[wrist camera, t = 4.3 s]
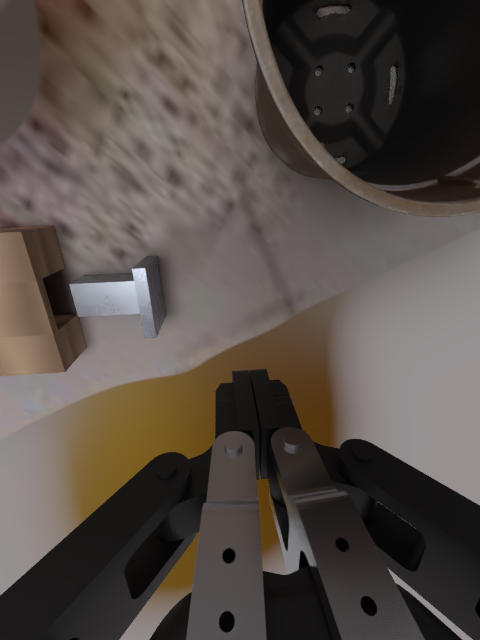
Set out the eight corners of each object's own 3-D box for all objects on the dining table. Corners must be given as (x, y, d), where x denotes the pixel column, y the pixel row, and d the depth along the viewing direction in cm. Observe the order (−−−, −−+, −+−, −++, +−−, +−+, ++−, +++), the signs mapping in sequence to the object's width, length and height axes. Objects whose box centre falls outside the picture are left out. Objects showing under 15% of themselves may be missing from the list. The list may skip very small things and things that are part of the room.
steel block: (157, 255, 27) (145, 268, 23) (166, 315, 30) (156, 337, 25) (80, 259, 27) (51, 272, 22) (95, 319, 29) (72, 342, 25)
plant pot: (253, 226, 27) (296, 265, 12) (196, -8, 20) (137, -557, 5) (429, 175, 26) (710, 149, 11) (429, -84, 20) (1080, -950, 5)
